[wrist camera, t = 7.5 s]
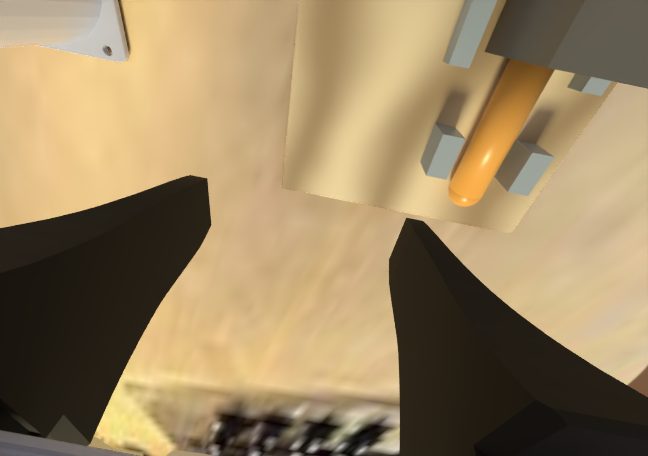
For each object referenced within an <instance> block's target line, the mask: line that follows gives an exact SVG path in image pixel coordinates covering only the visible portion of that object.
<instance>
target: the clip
mask: <svg viewBox="0 0 648 456" xmlns="http://www.w3.org/2000/svg"><path fill="white" fill-rule="evenodd" d="M464 141H465V138H464V136H463V135H462V134H461V133H460V132H459V131H458V130H457V129H456V128H455V127H451V126H446V125H441V124H436V123H435V125H434V128H433V130H432V133H431V135H430V138H429V140H428V143H427V145H426V148H425V151H424V153H423V156H422V158H421V161H420V163H421V165H422V167H423V170H424V172H425V175H426V176H430V177H435V178H440V179H445V180H447V178H448V175H449V173H450V171H451V169H452V167H453V165H454V163H455V161H456V158H457V156H458V154H459V152H460V150H461V148H462V146H463V144H464ZM553 159H554V156H553V155H551V154H550V153H548V152H547V151H545V150H544V149H543V148H541V147H540V146H538V145H537V144H534V143H529V142H524V141H520V140H515V142H514V144H513V146H512V147H511V149H510V151H509V153H508V154H507V156H506V158H505V160H504V161H503V163H502V165H501V166H500V168H499V170H498V172H497V173H496V175H495V178H496V179H497V180H498V181H499V183H500V184H501V185H502V186H503V187H504V188H505V190H506V191H507V192H510V193H515V194H520V195H525V196H528V195H529V194H530V193H531V191H532V190H533V188H534V187H535V185H536V184H537V182H538V181H539V179H540V178H541V176H542V175H543V174H544V172H545V171H546V169H547V168H548V166H549V165H550V163H551V162H552V160H553Z"/></svg>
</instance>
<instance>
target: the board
mask: <svg viewBox="0 0 648 456" xmlns="http://www.w3.org/2000/svg"><path fill="white" fill-rule="evenodd" d="M464 2H465V0H299V5H298V16H297V27H296V38H295V50H294V61H293V72H292V83H291V94H290V105H289V116H288V128H287V139H286V150H285V161H284V172H283V183H282V188H284V189H289V190H294V191H299V192H304V193H309V194H314V195H319V196H324V197H329V198H334V199H339V200H344V201H349V202H354V203H359V204H364V205H369V206H375V207H380V208H385V209H390V210H395V211H400V212H405V213H410V214H415V215H420V216H425V217H430V218H435V219H440V220H445V221H450V222H455V223H460V224H465V225H470V226H475V227H480V228H485V229H490V230H495V231H500V232H505V233H510V234H511V232H512V231H513V230H514V228H515V227H516V225H517V224H518V223H519V221H520V220H521V218H522V217H523V216H524V214H525V213H526V211H527V210H528V208H529V207H530V206H531V204H532V203H533V201H534V200H535V199H536V197H537V196H538V194H539V193H540V191H541V190H542V189H543V187H544V186H545V184H546V183H547V182H548V180H549V179H550V177H551V176H552V174H553V173H554V172H555V170H556V169H557V167H558V166H559V165H560V163H561V162H562V160H563V159H564V157H565V156H566V155H567V153H568V152H569V150H570V149H571V148H572V146H573V145H574V143H575V142H576V140H577V139H578V138H579V136H580V135H581V133H582V132H583V131H584V129H585V128H586V126H587V125H588V124H589V122H590V121H591V119H592V118H593V116H594V115H595V114H596V112H597V111H598V109H599V108H600V107H601V105H602V104H603V102H604V101H605V99H606V98H607V97H608V95H609V94H610V92H611V91H612V90H613V88H614V87H615V85H616V84H617V82H614V81H611V83H610V84H609V86H608V87H607V89H606V90H605V92H604V93H603V94H602V96H598V95H593V94H589V93H584V92H580V91H577V90H574V89H571V88H567V87H568V85H569V83H570V82H571V80H572V79H573V77H574V75H575V73H570V72H565V71H560V70H556V69H555V71H554V72H553V74H552V76H551V78H550V79H549V81H548V83H547V85H546V86H545V88H544V90H543V92H542V93H541V95H540V97H539V99H538V100H537V102H536V104H535V106H534V107H533V109H532V111H531V113H530V114H529V116H528V118H527V120H526V121H525V123H524V125H523V127H522V128H521V130H520V132H519V133H518V135H517V137H516V139H515V140H520V141H524V142H529V143H534V144H537V145H538V146H540V147H541V148H543V149H544V150H545V151H547V152H548V153H550V154H551V155H553V156H554V159H553V160H552V162H551V163H550V165H549V166H548V168H547V169H546V171H545V172H544V174H543V175H542V176H541V178H540V179H539V181H538V182H537V184H536V185H535V187H534V188H533V190H532V191H531V193H530V194H529V195H528V196H525V195H520V194H515V193H510V192H507V191H506V190H505V188H504V187H503V186H502V185H501V184H500V183H499V181H498V180H497V179H496V178H495V175H496V174H495V175H494V177H493V179H492V181H491V182H490V184H489V186H488V188H487V189H486V191H485V193H484V195H483V196H482V198H481V199H480V201H478V202H477V203H476V204H474V205H472V206H467V207H463V206H458V205H456V204H455V203H453V202H452V201H451V199H450V198H449V195H448V187H449V185H450V183H451V181H452V178H453V176H454V174H455V172H456V170H457V168H458V166H459V164H460V162H461V160H462V158H463V155H464V153H465V151H466V149H467V147H468V145H469V143H470V141H471V139H472V137H473V135H474V133H475V130H476V128H477V126H478V124H479V122H480V120H481V118H482V116H483V114H484V112H485V110H486V107H487V105H488V103H489V101H490V99H491V97H492V95H493V93H494V91H495V89H496V87H497V85H498V82H499V80H500V78H501V76H502V74H503V72H504V70H505V68H506V66H507V64H508V62H509V60H510V58H506V57H502V56H498V55H494V54H490V53H486V52H485V49H486V47H487V45H488V42H489V40H490V38H491V35H492V33H493V31H494V28H495V26H496V24H497V21H498V19H499V17H500V14H501V12H502V10H503V7H504V5H505V3H506V0H497V2H496V5H495V7H494V10H493V12H492V14H491V17H490V19H489V22H488V24H487V26H486V29H485V31H484V34H483V36H482V39H481V41H480V43H479V46H478V48H477V51H476V53H475V55H474V58H473V60H472V63H471V65H470V67H469V69H468V68H463V67H458V66H453V65H449V64H447V63H445V62H443V60H444V57H445V55H446V52H447V49H448V46H449V44H450V41H451V38H452V35H453V33H454V30H455V27H456V24H457V22H458V19H459V16H460V13H461V10H462V8H463V5H464ZM435 123H436V124H441V125H446V126H451V127H455V128H456V129H457V130H458V131H459V132H460V133H461V134H462V135H463V136H464V138H465V141H464V144H463V146H462V148H461V150H460V152H459V154H458V156H457V158H456V161H455V163H454V165H453V167H452V169H451V171H450V173H449V175H448V178H447V180H445V179H440V178H435V177H430V176H426V175H425V172H424V170H423V167H422V165H421V163H420V161H421V158H422V156H423V153H424V151H425V148H426V145H427V143H428V140H429V138H430V135H431V133H432V130H433V128H434V125H435ZM515 140H514V142H515ZM514 142H513V144H514ZM513 144H512V146H513ZM512 146H511V147H512ZM511 147H510V149H511ZM510 149H509V151H510ZM509 151H508V153H509ZM508 153H507V154H508ZM507 154H506V156H507ZM506 156H505V158H506ZM505 158H504V160H505ZM504 160H503V161H504ZM503 161H502V163H503ZM502 163H501V165H502ZM501 165H500V166H501ZM499 168H500V167H499ZM499 168H498V170H499ZM498 170H497V172H498ZM497 172H496V173H497Z"/></svg>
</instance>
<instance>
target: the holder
mask: <svg viewBox="0 0 648 456" xmlns="http://www.w3.org/2000/svg"><path fill="white" fill-rule="evenodd" d="M496 2H497V0H465V2H464V5H463V8H462V10H461V13H460V16H459V19H458V22H457V24H456V27H455V30H454V33H453V35H452V38H451V41H450V44H449V46H448V49H447V52H446V55H445V57H444V60H443V62H445V63H447V64H449V65H453V66H458V67H463V68H468V69H469V67H470V65H471V63H472V60H473V58H474V55H475V53H476V51H477V48H478V46H479V43H480V41H481V39H482V36H483V34H484V31H485V29H486V26H487V24H488V22H489V19H490V17H491V14H492V12H493V10H494V7H495V5H496ZM610 83H611V81H609V80H604V79H599V78H595V77H590V76H585V75H580V74H575V75H574V77H573V79H572V80H571V82H570V83H569V85H568V87H567V88H571V89H574V90H577V91H580V92H584V93H589V94H593V95H598V96H602V94H603V93H604V92H605V90H606V89H607V87H608V86H609V84H610Z"/></svg>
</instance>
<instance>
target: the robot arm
mask: <svg viewBox="0 0 648 456" xmlns="http://www.w3.org/2000/svg"><path fill="white" fill-rule="evenodd" d="M34 45H36V46H41V47H46V48H51V49H56V50H60V51H65V52H70V53H75V54H80V55H85V56H90V57H95V58H100V59H105V60H110V61H114V62H126V61H127V60H128V59H129V51H128V47H127V42H126V37H125V32H124V27H123V22H122V18H121V13H120V8H119V3H118V0H0V48H8V47H21V46H34ZM108 46H109V47H110V48H111V50H112V55H111V54H110V53H109V51H108ZM210 226H211V216H210V205H209V193H208V182H207V178H202V177H197V176H192V175H189V176H185V177H182V178H179V179H176V180H173V181H170V182H167V183H164V184H162V185H159V186H156V187H153V188H151V189H148V190H145V191H142V192H140V193H137V194H134V195H131V196H128V197H125V198H122V199H119V200H116V201H113V202H110V203H107V204H104V205H101V206H97V207H94V208H90V209H87V210H83V211H80V212H76V213H72V214H67V215H63V216H59V217H55V218H51V219H46V220H41V221H36V222H31V223H25V224H20V225H15V226H10V227H5V228H0V456H139V455H133V454H128V453H122V452H116V451H111V450H106V449H100V448H95V447H89V446H88V445H89V444H90V443H91V441H92V438H93V436H94V434H95V431H96V429H97V427H98V425H99V422H100V420H101V418H102V416H103V414H104V411H105V409H106V407H107V405H108V402H109V400H110V398H111V396H112V394H113V392H114V390H115V388H116V385H117V383H118V381H119V379H120V377H121V375H122V373H123V371H124V369H125V367H126V365H127V363H128V361H129V359H130V357H131V355H132V353H133V351H134V350H135V348H136V346H137V344H138V342H139V340H140V338H141V336H142V335H143V333H144V331H145V329H146V327H147V325H148V324H149V322H150V320H151V318H152V317H153V315H154V313H155V311H156V310H157V308H158V306H159V305H160V303H161V301H162V300H163V298H164V297H165V295H166V294H167V293H168V291H169V290H170V288H171V287H172V286H173V284H174V283H175V281H176V280H177V279H178V277H179V276H180V275H181V273H182V272H183V270H184V269H185V268H186V266H187V265H188V263H189V262H190V261H191V259H192V258H193V256H194V255H195V254H196V252H197V251H198V249H199V248H200V246H201V244H202V242H203V241H204V239H205V237H206V235H207V233H208V231H209V229H210ZM389 286H390V293H391V301H392V307H393V314H394V321H395V328H396V335H397V343H398V354H399V382H400V456H648V397H646V396H644V395H643V394H641V393H639V392H637V391H636V390H634V389H632V388H631V387H629V386H627V385H626V384H624V383H622V382H620V381H619V380H617V379H615V378H614V377H612V376H610V375H608V374H607V373H605V372H603V371H601V370H600V369H598V368H597V367H595V366H593V365H592V364H590V363H589V362H587V361H586V360H584V359H582V358H581V357H579V356H578V355H576V354H575V353H573V352H572V351H570V350H569V349H567V348H565V347H564V346H562V345H561V344H560V343H558V342H557V341H555V340H554V339H552V338H551V337H549V336H548V335H546V334H545V333H544V332H542V331H541V330H540V329H538V328H537V327H536V326H534V325H533V324H531V323H530V322H529V321H527V320H526V319H525V318H523V317H522V316H521V315H519V314H518V313H517V312H516V311H514V310H513V309H512V308H510V307H509V306H508V305H507V304H506V303H505V302H503V301H502V300H501V299H500V298H499V297H497V296H496V295H495V294H494V293H493V292H492V291H490V290H489V289H488V288H487V287H486V286H485V285H484V284H483V283H482V282H481V281H480V280H479V279H478V278H476V277H475V276H474V275H473V274H472V273H471V272H470V271H469V270H468V269H467V268H466V267H465V266H464V265H463V264H462V263H461V262H460V260H459V259H458V258H457V257H456V256H455V255H454V254H453V253H452V252H451V251H450V250H449V249H448V247H447V246H446V245H445V244H444V243H443V242H442V241H441V240H440V239H439V237H438V236H437V235H436V234H435V233H434V232H433V231H432V230H431V229H430V227H429V226H428V225H427V224H426V223H425V222H423V221H420V220H415V219H410V218H406V220H405V222H404V225H403V227H402V230H401V232H400V234H399V237H398V239H397V242H396V244H395V247H394V249H393V252H392V254H391V256H390V259H389Z"/></svg>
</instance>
